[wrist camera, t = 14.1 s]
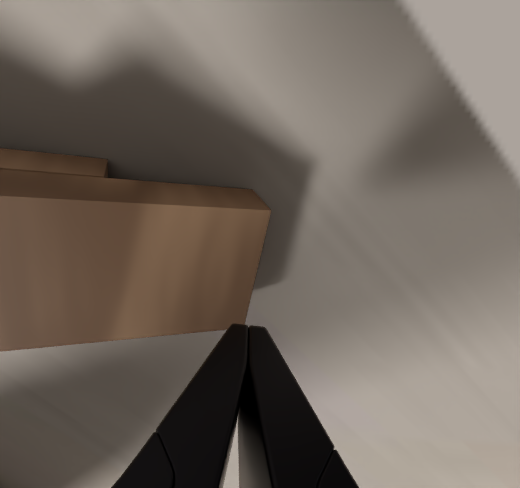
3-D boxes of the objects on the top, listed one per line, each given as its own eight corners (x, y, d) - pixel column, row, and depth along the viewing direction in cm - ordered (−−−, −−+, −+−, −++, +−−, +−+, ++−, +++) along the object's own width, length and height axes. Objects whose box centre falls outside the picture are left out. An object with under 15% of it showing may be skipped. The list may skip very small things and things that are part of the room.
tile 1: (230, 297, 14) (-22, 312, 11) (252, 189, 12) (-56, 164, 8) (243, 327, 12) (-44, 355, 9) (271, 210, 10) (-92, 190, 7)
